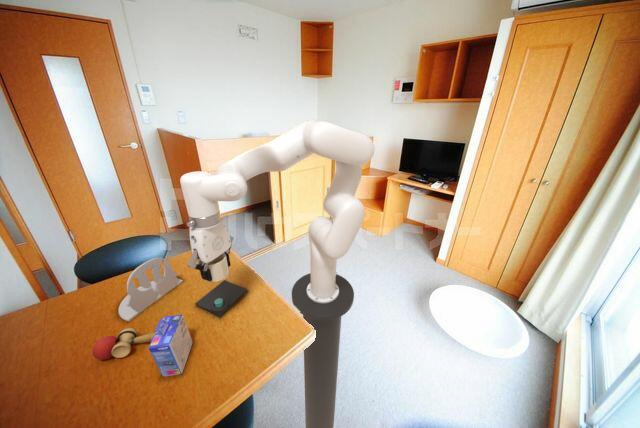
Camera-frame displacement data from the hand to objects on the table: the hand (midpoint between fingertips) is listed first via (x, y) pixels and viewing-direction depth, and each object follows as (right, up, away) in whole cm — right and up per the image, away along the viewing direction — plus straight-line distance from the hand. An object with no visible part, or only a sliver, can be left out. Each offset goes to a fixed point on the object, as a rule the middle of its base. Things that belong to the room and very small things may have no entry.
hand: (217, 271), depth 71 cm
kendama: (-25, -23, +1) cm, 34 cm away
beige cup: (0, -1, 0) cm, 1 cm away
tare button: (-5, -15, +13) cm, 20 cm away
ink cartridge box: (-10, -25, -2) cm, 27 cm away
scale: (-6, -15, +19) cm, 25 cm away
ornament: (-36, -14, +20) cm, 43 cm away
